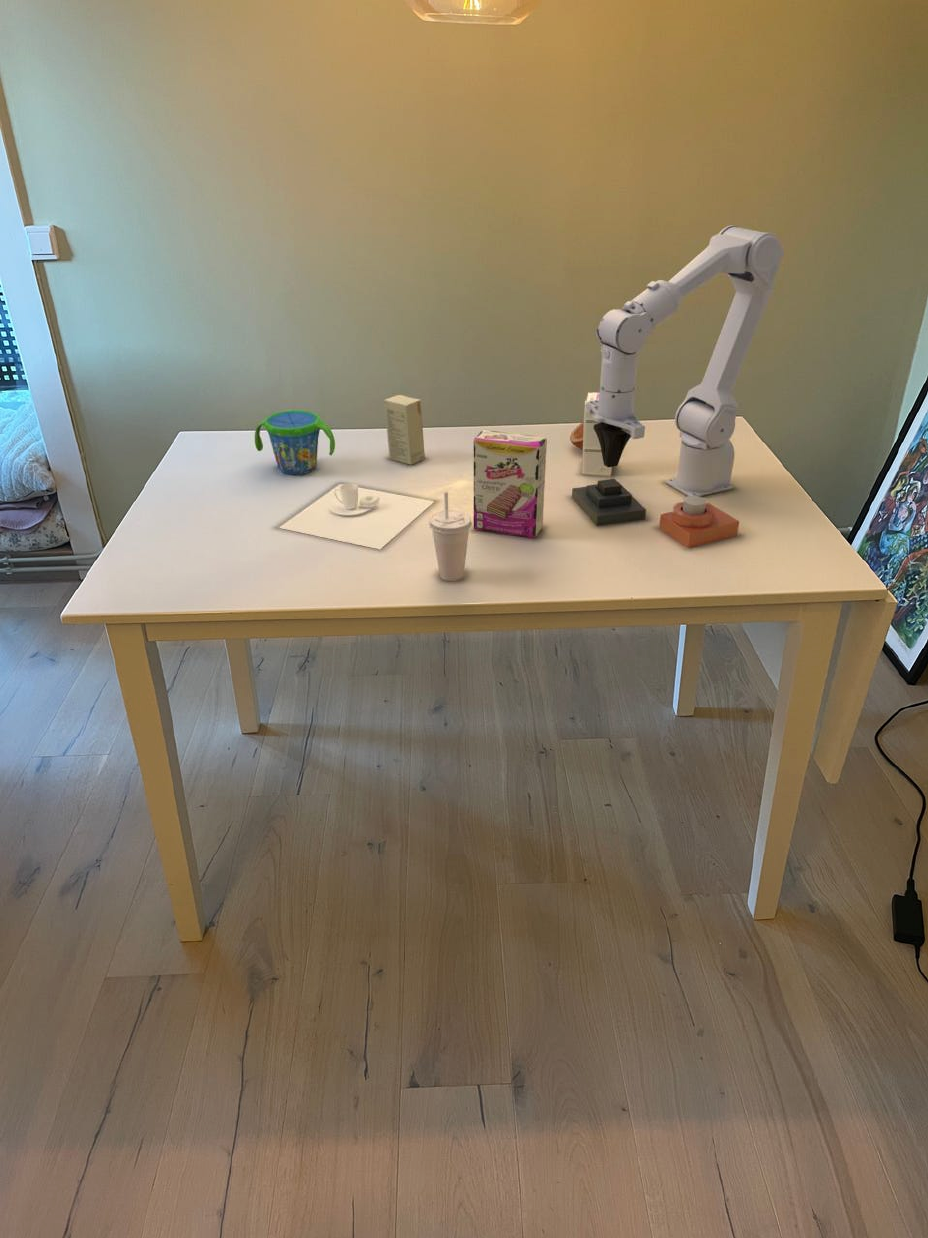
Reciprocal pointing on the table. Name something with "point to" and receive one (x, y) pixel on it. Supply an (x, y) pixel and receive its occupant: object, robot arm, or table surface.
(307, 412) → the snack cup
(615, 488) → the dark top block
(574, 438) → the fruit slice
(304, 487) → the table surface
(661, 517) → the orange knob plate
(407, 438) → the cosmetic box
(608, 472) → the syrup box
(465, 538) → the smoothie
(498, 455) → the candy bar box
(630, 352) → the robot arm
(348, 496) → the teacup and saucer
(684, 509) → the gray push button
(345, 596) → the table surface
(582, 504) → the dark gray socket plate
